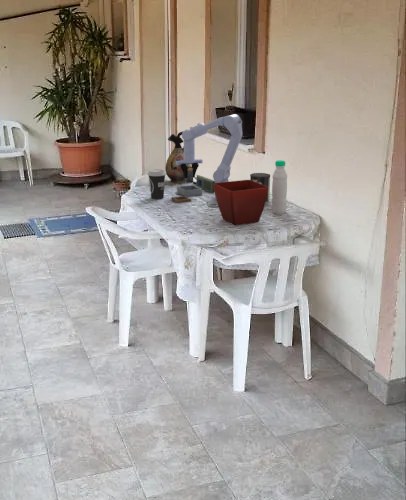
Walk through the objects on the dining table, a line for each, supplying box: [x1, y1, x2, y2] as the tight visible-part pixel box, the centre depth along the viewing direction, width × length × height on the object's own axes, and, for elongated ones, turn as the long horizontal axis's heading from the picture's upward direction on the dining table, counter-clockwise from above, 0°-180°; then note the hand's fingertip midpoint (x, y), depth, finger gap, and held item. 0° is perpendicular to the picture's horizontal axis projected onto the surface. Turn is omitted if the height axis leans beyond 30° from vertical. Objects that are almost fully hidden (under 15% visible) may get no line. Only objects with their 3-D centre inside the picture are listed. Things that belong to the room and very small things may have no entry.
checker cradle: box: [170, 195, 193, 204], centre depth 327 cm, size 9×9×2 cm
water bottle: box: [271, 160, 288, 215], centre depth 300 cm, size 7×7×25 cm
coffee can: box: [249, 172, 271, 204], centre depth 323 cm, size 10×10×14 cm
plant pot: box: [214, 179, 268, 226], centre depth 286 cm, size 19×19×17 cm
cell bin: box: [176, 184, 203, 197], centre depth 342 cm, size 12×10×4 cm
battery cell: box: [185, 166, 194, 184], centre depth 336 cm, size 4×4×9 cm
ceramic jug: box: [164, 130, 195, 184], centre depth 371 cm, size 17×15×30 cm
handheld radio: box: [192, 174, 215, 194], centre depth 357 cm, size 7×3×25 cm
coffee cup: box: [147, 168, 167, 200], centre depth 331 cm, size 10×10×15 cm
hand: (189, 177), depth 337 cm, fingers closed on battery cell, 4 cm apart
